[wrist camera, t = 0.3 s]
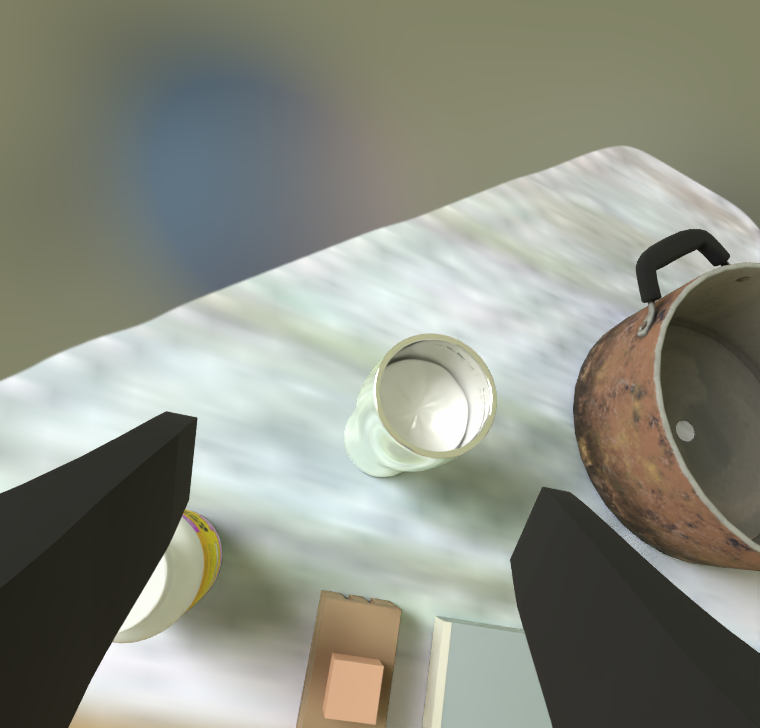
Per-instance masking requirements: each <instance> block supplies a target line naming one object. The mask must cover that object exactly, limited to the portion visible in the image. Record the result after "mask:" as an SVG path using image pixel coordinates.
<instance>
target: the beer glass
mask: <svg viewBox="0 0 760 728" xmlns="http://www.w3.org/2000/svg"><path fill="white" fill-rule="evenodd" d="M496 407H497V394H496V388H495V384H494V380H493V378H492V375H491V373H490V371H489V369H488V367H487V366H486V364H485V363H484V361H483V360H482V359H481V357H480V356H479V355H478V354H477V353H476V352H475V351H474V350H473V349H471V348H470V347H469V346H467V345H466V344H464V343H463V342H461V341H459V340H457V339H455V338H452V337H449V336H445V335H440V334H420V335H416V336H412V337H409V338H407V339H405V340H403V341H401V342H399V343H398V344H396V345H395V346H394V347H393V348H392V349H391V350H390V351H389V352H388V353H387V354H386V355H385V356H384V358H383V359H382V360H381V361H380V362H379V363H378V364H377V365H376V366H375V367H374V368H373V370H372V371H371V373H370V374H369V375H368V377H367V378H366V380H365V381H364V383H363V386H362V388H361V390H360V392H359V395H358V398H357V402H356V409H355V412H354V413H353V414H352V415H351V416H350V418H349V420H348V422H347V424H346V427H345V431H344V444H345V449H346V452H347V454H348V456H349V458H350V459H351V461H352V462H353V464H354V465H355V466H356V467H357V468H359V469H360V470H361V471H363V472H364V473H366V474H368V475H371V476H375V477H391V476H395V475H397V474H400V473H402V472H403V471H408V472H418V471H425V470H429V469H433V468H437V467H439V466H442V465H444V464H446V463H448V462H450V461H452V460H454V459H455V458H457V457H459V456H460V455H462V454H463V453H465V452H467V451H469V450H471V449H472V448H474V447H475V446H476V445H477V444H479V443H480V442H481V441H482V439H483V438H484V437H485V436H486V434H487V433H488V431H489V430H490V428H491V426H492V423H493V421H494V418H495V414H496Z"/></svg>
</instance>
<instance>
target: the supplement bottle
mask: <svg viewBox="0 0 760 728" xmlns="http://www.w3.org/2000/svg"><path fill="white" fill-rule="evenodd" d="M221 561H222V547H221V542H220V538H219V536H218V534H217V532H216V530H215V528H214V527H213V525H212V524H211V523H210V522H209V521H208V520H207V519H206V518H204V517H203V516H202V515H200V514H198V513H196V512H193V511H190V510H186V509H185V510H184V513H183V515H182V518H181V520H180V522H179V525H178V527H177V529H176V531H175V534H174V536H173V538H172V540H171V542H170V545H169V546H168V548H167V550H166V552H165V553H164V555H163V557H162V559H161V560H160V562H159V564H158V566H157V567H156V569H155V571H154V572H153V574H152V576H151V577H150V579H149V581H148V583H147V584H146V586H145V588H144V589H143V591H142V593H141V594H140V596H139V598H138V599H137V601H136V603H135V604H134V606H133V608H132V610H131V611H130V613H129V615H128V616H127V618H126V620H125V621H124V623H123V625H122V626H121V628H120V630H119V631H118V633H117V635H116V637H115V638H114V640H113V642H114V643H132V642H138V641H141V640H145V639H148V638H150V637H153V636H155V635H157V634H159V633H161V632H162V631H164V630H165V629H167V628H168V627H170V626H171V625H172V624H174V623H175V622H176V621H177V620H178V619H179V618H180V617H181V616H182V615H184V614H185V613H186V612H187V611H188V610H189V609H190V608H191V607H193V606H194V605H195V604H196V603H197V602H198V601H199V600H200V599H202V598H203V596H204V595H205V594H206V593H207V592H208V591H209V590H210V588H211V587H212V586H213V584H214V582H215V580H216V578H217V576H218V573H219V570H220V567H221Z"/></svg>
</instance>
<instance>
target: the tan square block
mask: <svg viewBox="0 0 760 728" xmlns="http://www.w3.org/2000/svg"><path fill="white" fill-rule="evenodd" d="M383 669H384V666H383V665H382V663H381V662H380V660H379V659H372V658H365V657H358V656H351V655H344V654H337V653H332V657H331V663H330V668H329V674H328V680H327V686H326V691H325V697H324V703H323V713H324V717H325V718H327V719H335V720H343V721H350V722H358V723H366V724H374V725H376V718H377V711H378V704H379V697H380V690H381V683H382V676H383Z"/></svg>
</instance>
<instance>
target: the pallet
mask: <svg viewBox="0 0 760 728" xmlns="http://www.w3.org/2000/svg"><path fill="white" fill-rule="evenodd" d="M400 617H401V609H399V608H398V607H397V606H396V605H394V604H393V603H392V602H390V601H386V600H380V599H374V598H371V600H370V603H369V602H368V601H367V600H366V599H365V598H363V597H361V596H355V595H349V598H348V599H345V598H344V597H343V595H342V594H341V593H336V592H330V591H324V590H321V596H320V601H319V607H318V612H317V617H316V623H315V628H314V633H313V639H312V644H311V649H310V655H309V660H308V666H307V671H306V676H305V682H304V687H303V692H302V698H301V703H300V708H299V714H298V719H297V725H296V728H385V726H386V719H387V711H388V704H389V697H390V690H391V682H392V675H393V668H394V661H395V653H396V646H397V639H398V631H399V624H400ZM332 653H337V654H344V655H351V656H358V657H365V658H372V659H379V660H380V662H381V663H382V665H383V666H384V669H383V676H382V683H381V690H380V697H379V704H378V711H377V718H376V725H374V724H366V723H358V722H350V721H343V720H335V719H327V718H325V717H324V713H323V703H324V697H325V691H326V686H327V680H328V674H329V668H330V663H331V657H332Z"/></svg>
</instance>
